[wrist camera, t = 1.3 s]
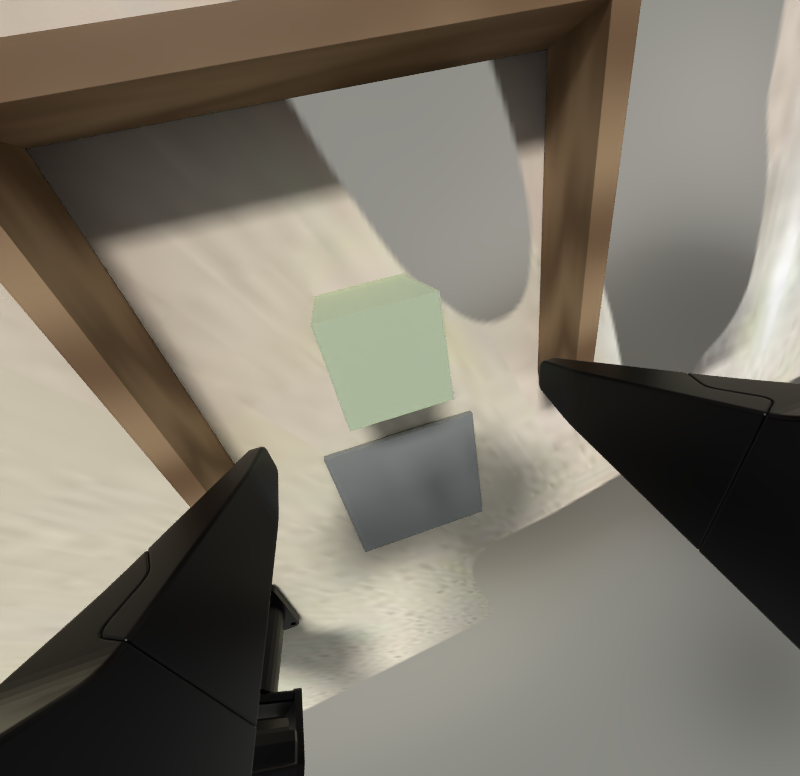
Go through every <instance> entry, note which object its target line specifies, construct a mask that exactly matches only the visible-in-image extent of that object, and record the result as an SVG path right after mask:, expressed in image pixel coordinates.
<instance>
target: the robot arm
mask: <svg viewBox="0 0 800 776" xmlns="http://www.w3.org/2000/svg"><path fill="white" fill-rule="evenodd" d="M539 385H540V388H541V390H542V391H543V393H544V394H545V395H546V396H547V398H548V399H549V400H550V401H551V402H552V404H553V405H554V406H555V407H556V408H557V410H558V411H559V412H560V413H561V414H562V416H563V417H564V418H565V419H566V420H567V421H568V423H569V424H570V425H571V426H572V427H573V428H574V429H575V430H576V431H577V432H578V433H579V434H580V435H581V436H582V437H583V438H584V439H585V440H586V441H587V442H588V443H589V444H590V445H591V446H593V447H594V448H595V449H596V450H597V451H598V452H599V453H600V454H601V455H602V456H603V457H604V458H605V459H606V460H607V461H608V462H609V463H610V464H611V465H612V466H613V467H614V468H615V469H616V470H617V471H618V472H619V473H620V474H621V475H622V476H623V477H624V478H625V479H626V480H627V481H628V482H629V483H630V484H631V485H632V486H633V487H634V488H635V489H636V490H638V492H639V493H641V494H642V495H643V496H644V497H645V498H646V499H647V500H648V501H649V502H650V503H651V504H652V505H653V506H654V507H655V508H656V509H657V510H658V511H659V512H660V513H661V514H662V515H663V516H664V517H665V518H666V519H667V520H668V521H669V522H670V523H671V524H672V525H673V526H674V527H675V528H676V529H677V530H678V531H679V532H680V533H681V534H682V535H683V536H684V537H685V538H687V540H688V541H690V542H691V543H692V544H693V545H694V546H695V547H696V548H697V549H699V551H700V553H701V554H703V555H704V556H705V557H706V558H707V559H708V560H709V561H710V562H711V563H712V564H713V565H714V566H715V567H716V568H717V569H718V570H719V571H720V572H721V573H722V574H723V575H724V576H725V577H726V578H727V579H728V580H729V581H730V582H731V583H732V584H733V585H734V586H735V587H736V588H737V589H738V590H739V591H740V592H741V593H742V594H743V595H744V596H745V597H746V598H747V599H749V601H750V602H752V604H754V605H755V606H756V607H757V608H758V609H759V610H760V611H761V612H762V613H763V614H764V615H765V616H766V617H767V618H768V619H769V620H770V621H771V622H772V623H773V624H774V625H775V626H776V627H777V628H778V629H779V630H780V631H781V632H782V633H783V634H784V635H785V636H786V637H787V638H789V640H790V641H791V642H792V643H793V644H794V645H795V646H796V647H797V648H798V649H799V650H800V384H798V383H786V382H773V381H761V380H750V379H739V378H729V377H719V376H710V375H701V374H692V373H689V374H687V373H683V372H674V371H665V370H657V369H647V368H640V367H631V366H623V365H614V364H605V363H597V362H588V361H579V360H571V359H562V358H550V359H547V360H544V361H542V362H541V363H540V370H539ZM278 518H279V506H278V470H277V467H276V465H275V463H274V462H273V460H272V458H271V456H270V454H269V453H268V451H267V449H266V448H265V447H259V448H255V449H252V450H249V451H248V452H247V453H246V454H245V455H244V456H243V457H242V458H241V459H240V460H239V461H238V462H237V463H236V464H235V465H234V466H233V467H232V468H231V469H230V470H229V471H228V472H227V473H226V474H224V475H223V476H222V477H221V478H220V479H219V480H218V481H217V482H216V483H215V484H214V485H213V486H212V487H211V488H210V489H209V490H208V491H207V492H206V493H205V494H204V495H203V496H202V497H201V498H200V499H199V500H198V501H197V502H196V503H195V504H194V505H193V506H192V507H191V508H190V509H189V510H188V511H187V512H186V513H184V514H183V515H182V516H181V517H180V518H179V519H178V520H177V521H176V522H175V523H174V524H173V525H172V526H171V527H170V528H169V529H168V530H167V531H166V532H165V533H164V534H163V535H162V536H161V537H160V538H159V539H158V540H157V541H156V542H155V543H154V544H153V545H152V546H151V547H150V548H149V549H148V551H146V552H144V553H143V554H142V555H141V556H140V557H139V558H138V559H137V560H136V561H135V562H134V563H133V564H132V565H131V566H130V567H129V568H128V569H127V570H126V571H125V572H124V573H123V574H122V575H121V576H120V577H118V578H117V579H116V580H115V581H114V582H113V583H112V584H111V585H110V586H109V587H108V588H107V589H106V590H105V591H104V592H103V593H101V594H100V595H99V596H98V597H97V598H96V599H95V600H94V601H93V602H92V603H90V604H89V605H88V606H87V607H86V608H85V609H84V610H83V611H82V612H80V613H79V614H78V615H77V616H76V617H75V618H74V619H73V620H72V621H70V622H69V623H68V624H67V625H66V626H65V627H64V628H63V629H62V630H60V631H59V632H58V633H57V634H56V635H55V636H54V637H53V638H51V639H50V640H49V641H48V642H47V643H46V644H45V645H44V646H42V647H41V648H40V649H39V650H38V651H37V652H36V653H35V654H34V655H32V656H31V657H30V658H29V659H28V660H27V661H26V662H25V663H23V664H22V665H21V666H20V667H19V668H18V669H17V670H16V671H14V672H13V673H12V674H11V675H10V676H9V677H8V678H7V679H6V680H4V681H3V682H2V683H1V684H0V776H304V766H305V760H304V732H303V709H302V689H301V688H296V689H294V690H292V691H282V692H278V682H279V672H280V662H281V652H282V641H283V631H284V630H286V629H289V628H292V627H294V626H297V625H298V624H299V617H298V615H297V614H296V613H295V612H294V610H293V609H292V608H291V607H290V605H289V604H288V603H287V602H286V600H285V599H284V598H283V596H282V595H281V594H280V593H279V591H278V590H277V589H276V588H275V587H274V586H272V577H273V568H274V558H275V549H276V540H277V531H278Z"/></svg>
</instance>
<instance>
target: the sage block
mask: <svg viewBox="0 0 800 776" xmlns="http://www.w3.org/2000/svg"><path fill="white" fill-rule="evenodd" d="M311 327H312V330H313V332H314V335H315V338H316V340H317V343H318V346H319V349H320V351H321V354H322V357H323V359H324V362H325V365H326V368H327V370H328V373H329V376H330V379H331V381H332V384H333V387H334V389H335V392H336V395H337V398H338V400H339V403H340V406H341V408H342V411H343V414H344V417H345V419H346V422H347V425H348V427H349V430H350V431H353V430H356V429H359V428H362V427H366V426H369V425H372V424H375V423H379V422H382V421H385V420H388V419H391V418H395V417H398V416H401V415H404V414H408V413H411V412H414V411H417V410H421V409H424V408H427V407H430V406H434V405H437V404H440V403H443V402H446V401H450V400H453V399H454V395H453V388H452V380H451V373H450V366H449V358H448V351H447V344H446V336H445V329H444V322H443V314H442V307H441V300H440V292H439V291H438V290H436V289H434V288H432V287H430V286H428V285H426V284H424V283H422V282H420V281H418V280H416V279H414V278H412V277H410V276H408V275H406V274H404V273H402V274H398V275H394V276H391V277H387V278H383V279H379V280H375V281H371V282H367V283H364V284H360V285H356V286H352V287H348V288H344V289H340V290H337V291H333V292H329V293H325V294H321V295H317V296H315V299H314V306H313V314H312V322H311Z"/></svg>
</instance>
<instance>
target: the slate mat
mask: <svg viewBox="0 0 800 776" xmlns="http://www.w3.org/2000/svg"><path fill="white" fill-rule="evenodd" d="M324 461H325V463H326V465H327V468H328V470H329V472H330V474H331V477H332V479H333V481H334V483H335V485H336V488H337V490H338V492H339V494H340V496H341V499H342V501H343V503H344V505H345V508H346V510H347V512H348V514H349V516H350V519H351V521H352V523H353V525H354V528H355V530H356V532H357V534H358V536H359V539H360V541H361V543H362V545H363V548H364V550H365V552H367V551H370V550H373V549H376V548H378V547H381V546H384V545H387V544H390V543H393V542H395V541H398V540H401V539H404V538H407V537H410V536H412V535H415V534H418V533H421V532H424V531H427V530H430V529H432V528H435V527H438V526H441V525H444V524H447V523H449V522H452V521H455V520H458V519H461V518H464V517H467V516H469V515H472V514H475V513H478V512H481V511H482V503H481V493H480V483H479V474H478V464H477V454H476V444H475V435H474V425H473V415H472V413H471V411H468V412H464V413H461V414H458V415H455V416H452V417H448V418H445V419H442V420H439V421H436V422H433V423H429V424H426V425H423V426H420V427H417V428H413V429H410V430H407V431H404V432H401V433H398V434H394V435H391V436H388V437H385V438H382V439H378V440H375V441H372V442H369V443H366V444H363V445H359V446H356V447H353V448H350V449H347V450H343V451H340V452H337V453H334V454H331V455H328V456H324Z"/></svg>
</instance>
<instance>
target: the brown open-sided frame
mask: <svg viewBox="0 0 800 776" xmlns="http://www.w3.org/2000/svg"><path fill="white" fill-rule="evenodd" d="M640 6H641V0H239V1H232V2H226V3H219V4H213V5H206V6H200V7H193V8H187V9H181V10H174V11H168V12H161V13H155V14H148V15H142V16H136V17H129V18H123V19H116V20H110V21H103V22H97V23H91V24H84V25H78V26H71V27H65V28H58V29H52V30H45V31H39V32H33V33H26V34H20V35H13V36H7V37H0V283H1V284H2V285H3V286H4V287H5V289H6V290H7V291H8V292H9V293H10V294H11V296H12V297H13V298H14V299H15V300H16V302H17V303H18V304H19V305H20V306H21V307H22V309H23V310H24V311H25V312H26V313H27V315H28V316H29V317H30V318H31V319H32V320H33V322H34V323H35V324H36V325H37V326H38V328H39V329H40V330H41V331H42V332H43V333H44V335H45V336H46V337H47V338H48V339H49V341H50V342H51V343H52V344H53V345H54V346H55V348H56V349H57V350H58V351H59V352H60V354H61V355H62V356H63V357H64V358H65V359H66V361H67V362H68V363H69V364H70V365H71V367H72V368H73V369H74V370H75V371H76V373H77V374H78V375H79V376H80V377H81V378H82V380H83V381H84V382H85V383H86V384H87V386H88V387H89V388H90V389H91V390H92V391H93V393H94V394H95V395H96V396H97V397H98V399H99V400H100V401H101V402H102V403H103V404H104V406H105V407H106V408H107V409H108V410H109V412H110V413H111V414H112V415H113V416H114V417H115V419H116V420H117V421H118V422H119V423H120V425H121V426H122V427H123V428H124V429H125V430H126V432H127V433H128V434H129V435H130V436H131V438H132V439H133V440H134V441H135V442H136V443H137V445H138V446H139V447H140V448H141V449H142V451H143V452H144V453H145V454H146V455H147V457H148V458H149V459H150V460H151V461H152V462H153V464H154V465H155V466H156V467H157V468H158V470H159V471H160V472H161V473H162V474H163V475H164V477H165V478H166V479H167V480H168V481H169V483H170V484H171V485H172V486H173V487H174V488H175V490H176V491H177V492H178V493H179V494H180V496H181V497H182V498H183V499H184V500H185V501H186V503H187V504H188V505H189V506H190V507H192V506H193V505H194V504H195V503H196V502H197V501H198V500H199V499H200V498H201V497H202V496H203V495H204V494H205V493H206V492H207V491H208V490H209V489H210V488H211V487H212V486H213V485H214V484H215V483H216V482H217V481H218V480H219V479H220V478H221V477H222V476H223V475H224V474H226V473H227V472H228V471H229V470H230V469H231V468H232V467H233V466H234V463H233V462H232V460H231V459H230V457H229V456H228V454H227V453H226V451H225V450H224V448H223V447H222V445H221V444H220V442H219V441H218V439H217V438H216V436H215V435H214V433H213V431H212V430H211V428H210V427H209V425H208V424H207V422H206V421H205V419H204V418H203V416H202V415H201V413H200V412H199V410H198V409H197V407H196V406H195V404H194V403H193V401H192V400H191V398H190V397H189V395H188V394H187V392H186V391H185V389H184V388H183V386H182V385H181V383H180V382H179V380H178V379H177V377H176V376H175V374H174V373H173V371H172V369H171V368H170V366H169V365H168V363H167V362H166V360H165V359H164V357H163V356H162V354H161V353H160V351H159V350H158V348H157V347H156V345H155V344H154V342H153V341H152V339H151V338H150V336H149V335H148V333H147V332H146V330H145V329H144V327H143V326H142V324H141V323H140V321H139V320H138V318H137V317H136V315H135V314H134V312H133V311H132V309H131V307H130V306H129V304H128V303H127V301H126V300H125V298H124V297H123V295H122V294H121V292H120V291H119V289H118V288H117V286H116V285H115V283H114V282H113V280H112V279H111V277H110V276H109V274H108V273H107V271H106V270H105V268H104V267H103V265H102V264H101V262H100V261H99V259H98V258H97V256H96V255H95V253H94V252H93V250H92V249H91V247H90V245H89V244H88V242H87V241H86V239H85V238H84V236H83V235H82V233H81V232H80V230H79V229H78V227H77V226H76V224H75V223H74V221H73V220H72V218H71V217H70V215H69V214H68V212H67V211H66V209H65V208H64V206H63V205H62V203H61V202H60V200H59V199H58V197H57V196H56V194H55V193H54V191H53V190H52V188H51V187H50V185H49V183H48V182H47V180H46V179H45V177H44V176H43V174H42V173H41V171H40V170H39V168H38V167H37V165H36V164H35V162H34V161H33V159H32V158H31V156H30V155H29V153H28V152H27V150H26V148H31V147H37V146H42V145H47V144H52V143H58V142H63V141H68V140H73V139H79V138H84V137H89V136H94V135H99V134H105V133H110V132H115V131H120V130H126V129H131V128H136V127H141V126H147V125H152V124H157V123H162V122H168V121H173V120H178V119H183V118H189V117H194V116H199V115H204V114H210V113H215V112H220V111H225V110H231V109H236V108H241V107H246V106H251V105H257V104H262V103H267V102H272V101H278V100H283V99H288V98H293V97H298V96H304V95H309V94H314V93H319V92H325V91H330V90H335V89H340V88H346V87H351V86H356V85H362V84H367V83H372V82H377V81H383V80H388V79H393V78H398V77H403V76H409V75H414V74H419V73H424V72H430V71H435V70H440V69H445V68H451V67H456V66H461V65H466V64H471V63H477V62H482V61H487V60H493V59H498V58H503V57H508V56H514V55H519V54H524V53H529V52H535V51H540V50H545V49H548V61H547V94H546V127H545V161H544V194H543V227H542V260H541V293H540V326H539V360H538V372H539V370H540V363H541V362H542V361H544V360H547V359H550V358H562V359H571V360H579V361H588V362H593V361H594V354H595V346H596V339H597V331H598V324H599V316H600V309H601V301H602V293H603V286H604V278H605V271H606V263H607V255H608V248H609V241H610V233H611V226H612V218H613V210H614V203H615V195H616V188H617V180H618V173H619V165H620V158H621V150H622V142H623V135H624V127H625V120H626V111H627V105H628V97H629V90H630V82H631V74H632V67H633V59H634V51H635V44H636V36H637V29H638V22H639V14H640Z"/></svg>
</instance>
